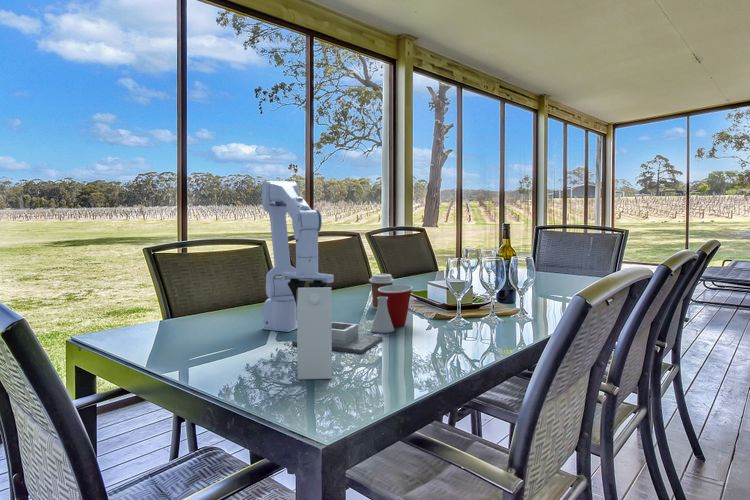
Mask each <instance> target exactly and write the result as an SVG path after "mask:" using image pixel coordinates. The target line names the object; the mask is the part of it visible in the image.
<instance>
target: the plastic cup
mask: <svg viewBox="0 0 750 500" xmlns="http://www.w3.org/2000/svg"><path fill="white" fill-rule="evenodd" d="M413 288H414V286H412V285H410V284H392V285H389V286H384V287H380V288H378V291H379V293H380V295H381V297H388V300H387V308H388V312H389V315H390V319H391V322H392V324H393V327H394V328H402V327H405V325H406V322H407V316H408V313H409V307H410V298H411V294H412V290H413Z"/></svg>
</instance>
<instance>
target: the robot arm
mask: <svg viewBox="0 0 750 500" xmlns="http://www.w3.org/2000/svg"><path fill="white" fill-rule="evenodd" d="M261 201H262V208H263V211H265V212H267V213H268V215H269V216H268V217H269V221H270V222H269V223H270V231H271V241H272V242H271V243H272V254H273V264H274V266H273V268H271V269H270V270H269V271H268V272H266V275H265V294H266V296H267V297H268V298H267V299H265V301H264V302H263V307H262V315H263V316H262V321H263V324H262V327H261V330H266V331H267V330H268V331H276V332H283V333H285V332H286V333H289V332H293V331H294V330H297V303H296V290H297V289H298V288H306V287H305V285H306V282H309V283H308V288H322V287H327V284H331V283H334V281H335V280H334V276H335V275H334V274H330V273H329V274H328V273H324V272H322V273H321V272H319V232H320V231H321V230H322V221H323V220H322V214H321V212H320V210H319V209H312V208H311V207H310V205H309V204H308V203H307V201H306V200H305V199H304V198H303V196H299V185H298V184H297V182H296V181H294V180H292V181H287V180H286V181H282V180H278V181H277V180H275V181H274V180H264V181H263V183H262V186H261ZM287 214H288V215H289V217H290V218H291V225H292V230H293V238H294V239H295V267H294V266H292V265H291V256H290V254H291V253H290V244H289V236H288V226H287V225H288V224H287Z"/></svg>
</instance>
